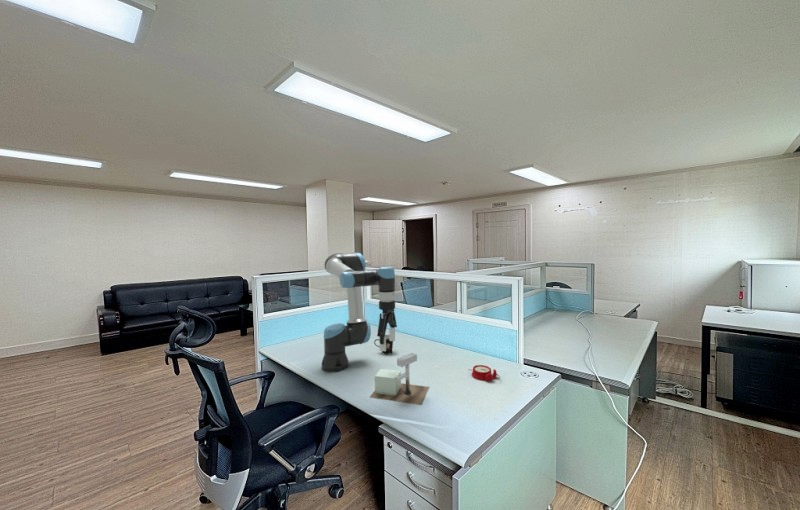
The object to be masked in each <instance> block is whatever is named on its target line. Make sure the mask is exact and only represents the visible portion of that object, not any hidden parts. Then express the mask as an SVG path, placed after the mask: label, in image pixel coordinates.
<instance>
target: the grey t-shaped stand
mask: <svg viewBox="0 0 800 510" xmlns="http://www.w3.org/2000/svg"><path fill="white" fill-rule="evenodd" d="M417 361H418V354H417V353H413V352H411V353H408V354H406V355H403V356H401V357H398V358H397V359H396V365H397V366H399V367H401V368H403V367H405V372H403V373H401V375H399V376H396V377H395V380H397V381H399V380H401V381H402V380H403V379H405V384H406V392H410V383H411V382H410V364H413V363H416V362H417Z"/></svg>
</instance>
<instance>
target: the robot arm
mask: <svg viewBox="0 0 800 510" xmlns="http://www.w3.org/2000/svg"><path fill="white" fill-rule="evenodd" d="M366 264H367V263H366V259H365V257H364V255H363V254H362V253H361V252H343V253H342V252H340V253H339V252H337V253H333V254H330V255H329V256H327V258H326V259H325V261H324V269H325V271H326V272H327V273H328V274H329V275H333V276H335V277H336V278H338V279H339V284H340V286H341V288H344V289H346V292H347V293H346V294H347V296H346V298H347V311H348V320H347V321H346V325H345V324H344V323H343V322H342V323H341V322H339V323H334V324H330V325H328V326H327V327H325V328H324V330H323V349H324V350H323V351H324V354H323V358H322V361H321V369H322V370H323V371H324V372H329V371H335V372H340V371H344V370H346V369H347V368H348V367H349V366H350V365H349V358H348V356H347V354H346V347H351V346H356V345H362V344H366V343H368V342H369V341H370V338H371V334H372V329H371V328H372V327H371V325H370V323H369V322H368V321H367V319H366V318H365V317H364V308H363V307H364V305H363V295H362V293H363V292H362V291H363V290H362V287H370V286H371V287H373V286H378V300H379V301H378V309H379V310H382V313H380V314H379V319H378V327H377V335H376V337H378V339H379V340H378V342H379V347H380V348H379V351H380V352H382V351H386V336H385V335H386V331H387V327H388V325H389V328H388V333H389V334H388V335H389V341H393V342H396V328H397V327H398V325H397V318H396V313H395V309H396V300H395V299H396V296H397V294H396V273H395V268H394V267H393V266H380V267H379V268H375V269H371V270H370V269H368V270H367V269H366ZM348 365H349V366H348ZM345 368H346V369H345ZM339 370H340V371H339Z"/></svg>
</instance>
